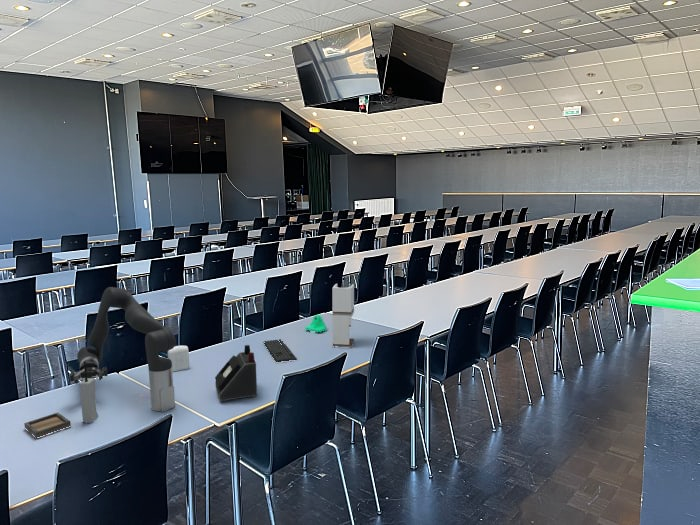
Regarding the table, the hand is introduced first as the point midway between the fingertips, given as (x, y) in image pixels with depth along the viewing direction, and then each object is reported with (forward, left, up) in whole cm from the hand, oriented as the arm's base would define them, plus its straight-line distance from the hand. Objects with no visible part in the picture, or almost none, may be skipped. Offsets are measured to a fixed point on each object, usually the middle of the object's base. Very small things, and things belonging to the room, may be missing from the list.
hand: (88, 379), depth 209 cm
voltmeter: (-34, -49, -13) cm, 61 cm away
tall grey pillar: (-27, -132, -13) cm, 135 cm away
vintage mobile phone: (-10, +4, -13) cm, 17 cm away
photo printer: (+12, -49, -13) cm, 52 cm away
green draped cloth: (+4, -140, -13) cm, 141 cm away
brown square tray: (-4, +18, -13) cm, 23 cm away
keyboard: (-7, -100, -14) cm, 101 cm away
